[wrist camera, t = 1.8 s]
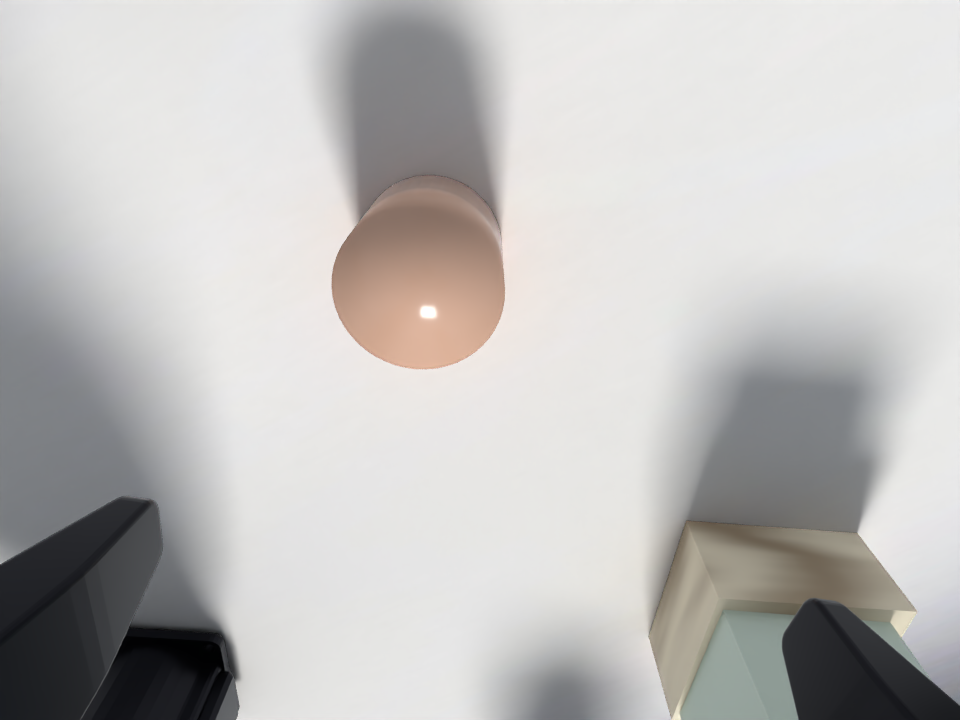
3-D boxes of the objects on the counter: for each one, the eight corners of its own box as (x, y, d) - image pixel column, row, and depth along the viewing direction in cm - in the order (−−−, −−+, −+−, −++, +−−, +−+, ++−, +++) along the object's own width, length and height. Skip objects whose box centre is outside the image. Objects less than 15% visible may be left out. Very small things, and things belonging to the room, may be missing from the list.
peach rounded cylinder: (362, 305, 19) (334, 362, 16) (360, 168, 17) (327, 199, 14) (495, 316, 20) (496, 375, 16) (508, 181, 17) (513, 214, 14)
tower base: (647, 632, 27) (671, 720, 23) (684, 516, 24) (719, 598, 20) (797, 642, 27) (843, 730, 24) (854, 528, 24) (917, 611, 20)
